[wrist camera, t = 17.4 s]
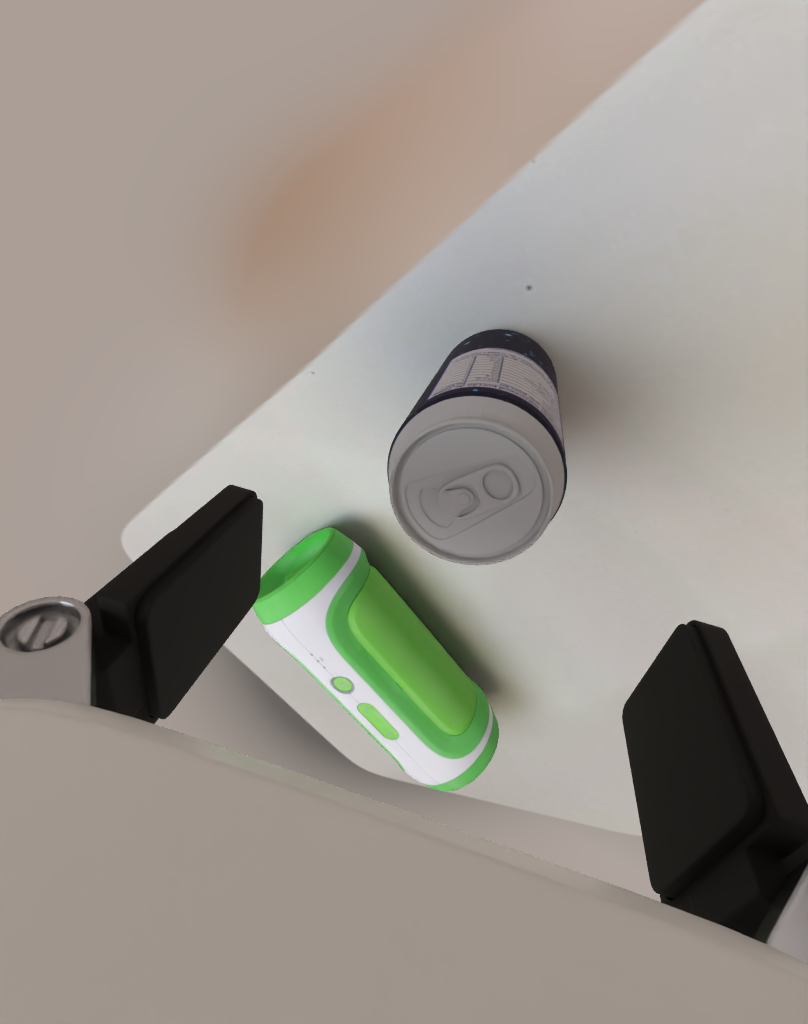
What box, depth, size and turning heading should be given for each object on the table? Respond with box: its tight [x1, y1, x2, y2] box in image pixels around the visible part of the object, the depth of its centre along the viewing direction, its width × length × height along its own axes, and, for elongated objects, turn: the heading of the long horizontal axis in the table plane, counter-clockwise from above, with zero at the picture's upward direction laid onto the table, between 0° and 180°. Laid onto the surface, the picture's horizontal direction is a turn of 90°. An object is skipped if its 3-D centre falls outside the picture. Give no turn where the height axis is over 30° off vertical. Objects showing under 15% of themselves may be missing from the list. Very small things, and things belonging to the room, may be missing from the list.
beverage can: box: [387, 329, 567, 565], centre depth 20 cm, size 6×6×12 cm
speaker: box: [253, 528, 499, 791], centre depth 31 cm, size 18×7×8 cm, turn 38°
